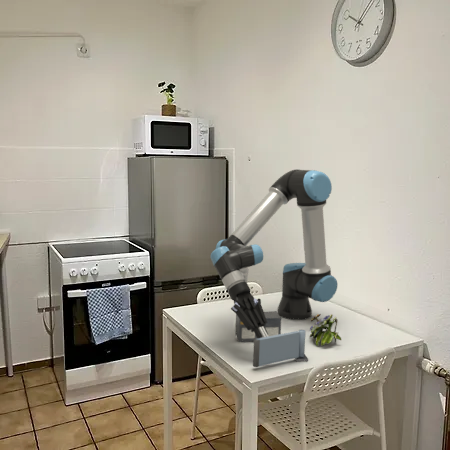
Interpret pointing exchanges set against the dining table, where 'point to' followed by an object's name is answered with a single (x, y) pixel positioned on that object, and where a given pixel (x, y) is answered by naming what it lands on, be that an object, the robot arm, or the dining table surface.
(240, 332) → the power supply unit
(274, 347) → the blue-grey flat panel
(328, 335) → the passion flower
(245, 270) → the plastic bottle
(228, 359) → the dining table surface
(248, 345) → the dining table surface
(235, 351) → the dining table surface
